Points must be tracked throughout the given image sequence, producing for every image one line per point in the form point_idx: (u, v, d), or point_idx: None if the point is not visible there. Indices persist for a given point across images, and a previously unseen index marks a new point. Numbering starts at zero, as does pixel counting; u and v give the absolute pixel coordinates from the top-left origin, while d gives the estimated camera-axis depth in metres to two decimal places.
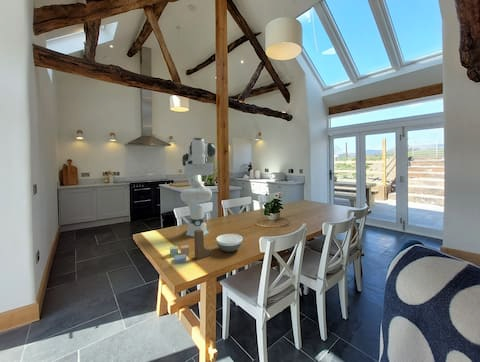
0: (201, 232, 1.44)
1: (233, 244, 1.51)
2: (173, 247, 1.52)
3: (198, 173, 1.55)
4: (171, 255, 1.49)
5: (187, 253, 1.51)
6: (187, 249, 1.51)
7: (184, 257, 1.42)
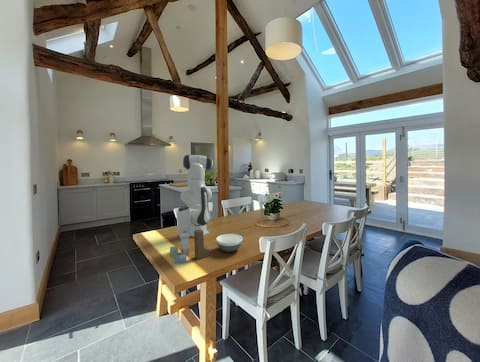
0: (201, 232, 1.44)
1: (233, 244, 1.51)
2: (173, 247, 1.52)
3: None
4: (171, 255, 1.49)
5: (187, 253, 1.51)
6: (187, 249, 1.51)
7: (184, 257, 1.42)
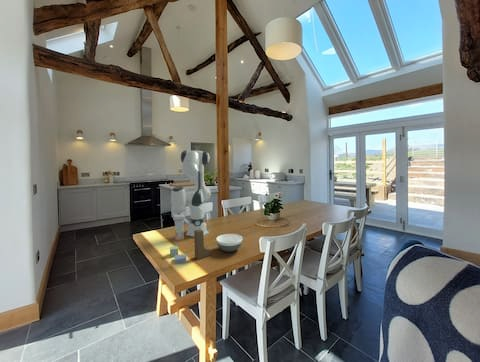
0: (201, 232, 1.44)
1: (233, 244, 1.51)
2: (173, 247, 1.52)
3: None
4: (171, 255, 1.49)
5: (182, 237, 1.40)
6: (182, 233, 1.39)
7: (184, 257, 1.42)
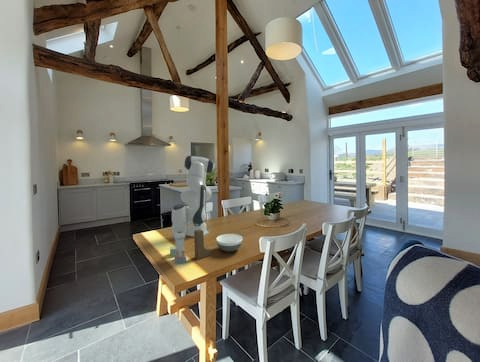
0: (201, 232, 1.44)
1: (233, 244, 1.51)
2: (173, 247, 1.52)
3: None
4: (171, 255, 1.49)
5: (182, 256, 1.41)
6: (183, 252, 1.41)
7: None
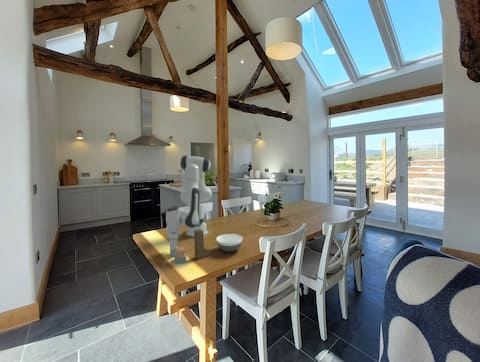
0: (201, 232, 1.44)
1: (233, 244, 1.51)
2: None
3: None
4: (171, 255, 1.49)
5: (182, 256, 1.41)
6: (183, 252, 1.41)
7: None
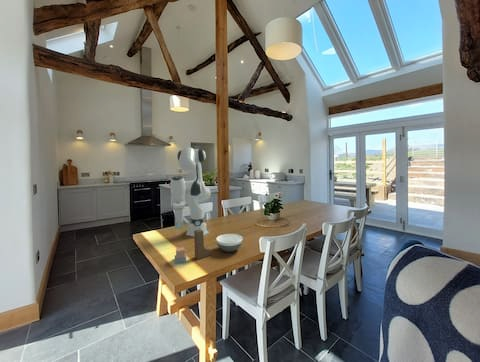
0: (201, 232, 1.44)
1: (233, 244, 1.51)
2: None
3: None
4: (176, 228, 1.38)
5: (182, 256, 1.41)
6: (183, 252, 1.41)
7: None
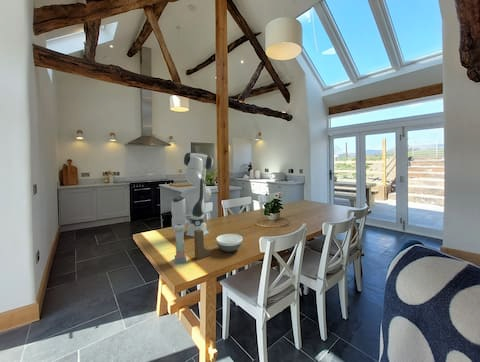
0: (201, 232, 1.44)
1: (233, 244, 1.51)
2: None
3: None
4: (177, 249, 1.40)
5: (182, 256, 1.41)
6: (183, 252, 1.41)
7: None
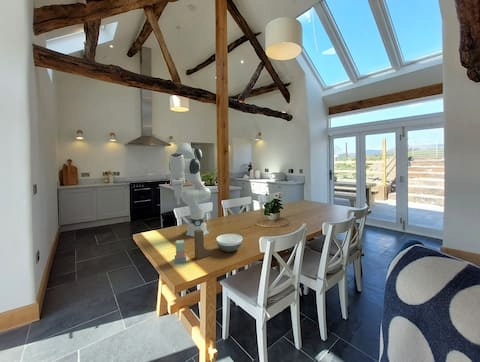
0: (201, 232, 1.44)
1: (233, 244, 1.51)
2: (179, 241, 1.42)
3: None
4: (177, 249, 1.40)
5: (182, 256, 1.41)
6: (183, 252, 1.41)
7: None
